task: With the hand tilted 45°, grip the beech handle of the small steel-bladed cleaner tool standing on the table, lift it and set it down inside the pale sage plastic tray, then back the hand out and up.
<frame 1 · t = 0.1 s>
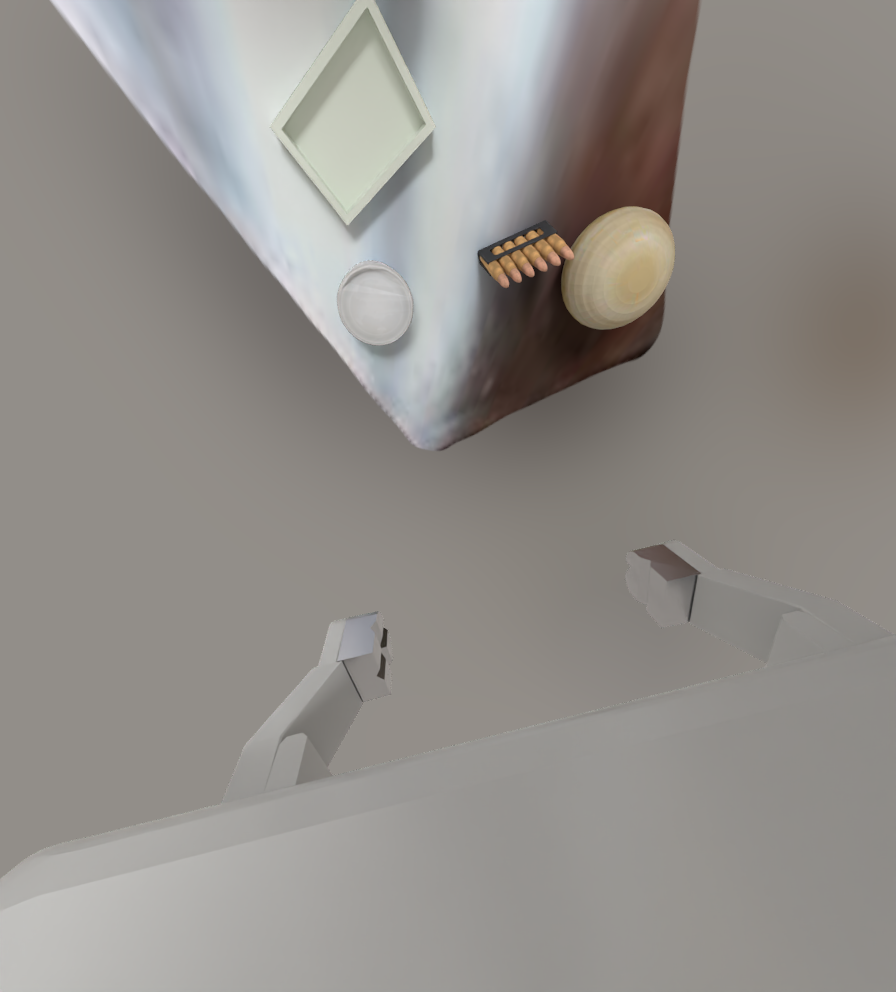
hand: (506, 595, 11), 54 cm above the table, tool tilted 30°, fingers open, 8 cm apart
ramekin: (374, 293, 52), on the table
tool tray: (354, 124, 37), on the table
ammunition clip: (511, 242, 50), on the table
decorative ball: (590, 255, 53), on the table
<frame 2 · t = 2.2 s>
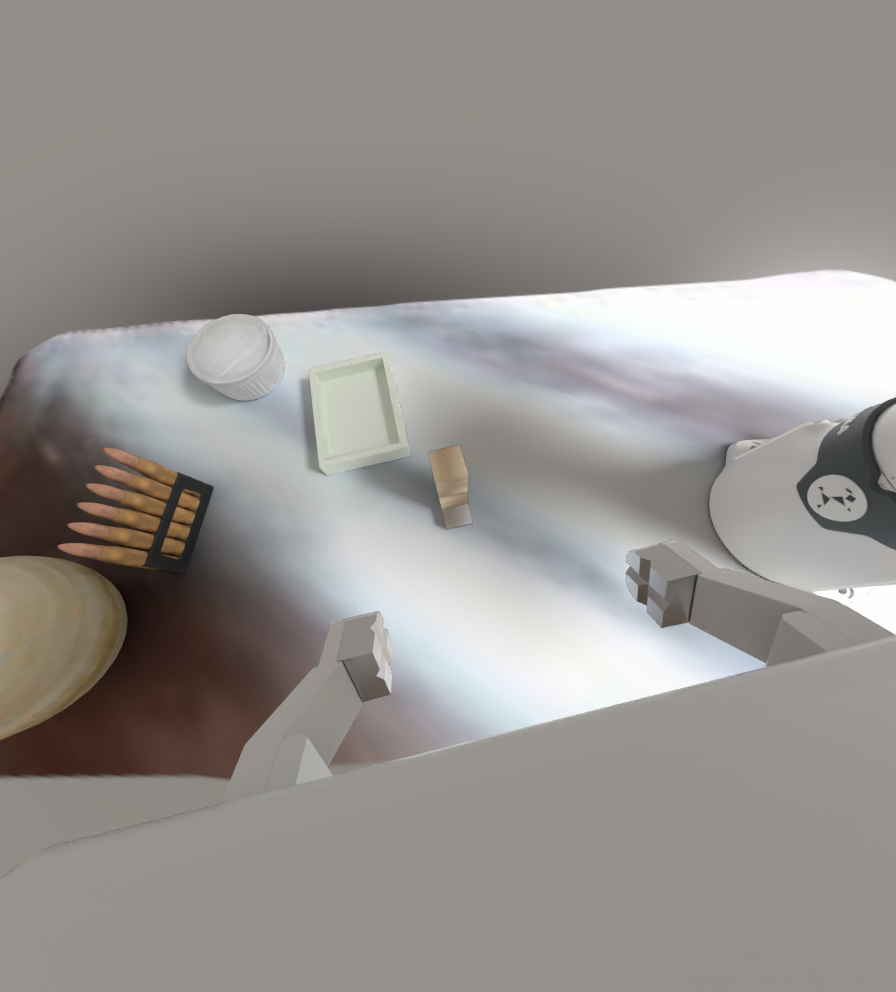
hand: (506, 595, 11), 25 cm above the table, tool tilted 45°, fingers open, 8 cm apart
cleaner tool: (452, 498, 39), on the table
ramekin: (255, 375, 47), on the table
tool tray: (361, 416, 43), on the table
ammunition clip: (194, 528, 39), on the table
decorative ball: (100, 636, 36), on the table
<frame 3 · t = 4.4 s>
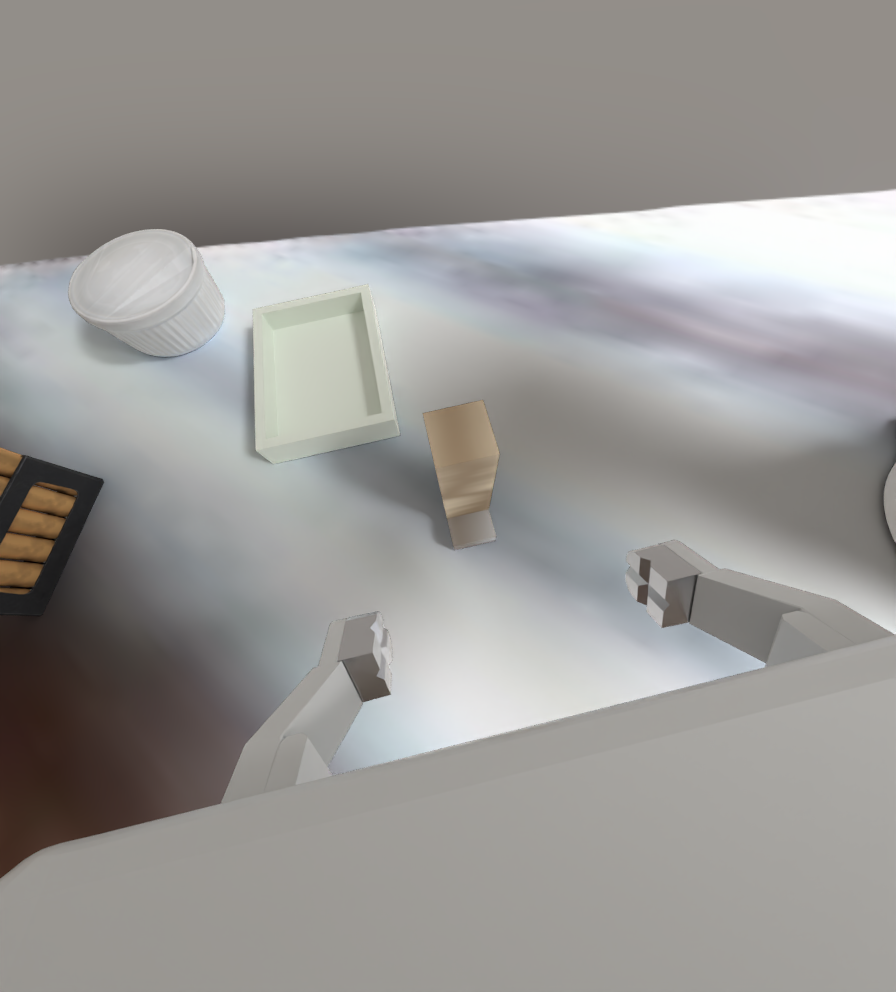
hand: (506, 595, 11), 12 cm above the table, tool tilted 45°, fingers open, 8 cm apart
cleaner tool: (463, 500, 25), on the table
ramekin: (184, 324, 33), on the table
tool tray: (328, 378, 29), on the table
ammunition clip: (68, 543, 26), on the table
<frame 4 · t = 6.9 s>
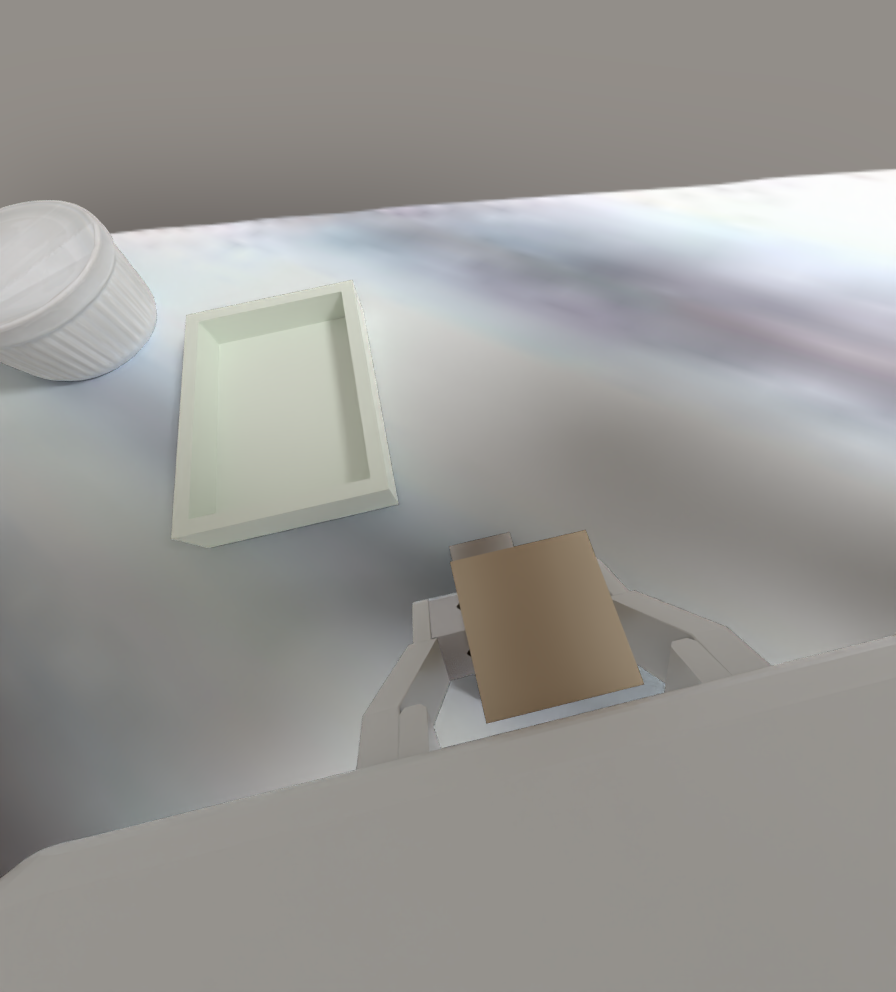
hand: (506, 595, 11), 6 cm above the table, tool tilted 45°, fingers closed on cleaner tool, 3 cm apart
cleaner tool: (496, 614, 16), on the table, touching gripper
ramekin: (101, 335, 24), on the table
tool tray: (295, 415, 20), on the table
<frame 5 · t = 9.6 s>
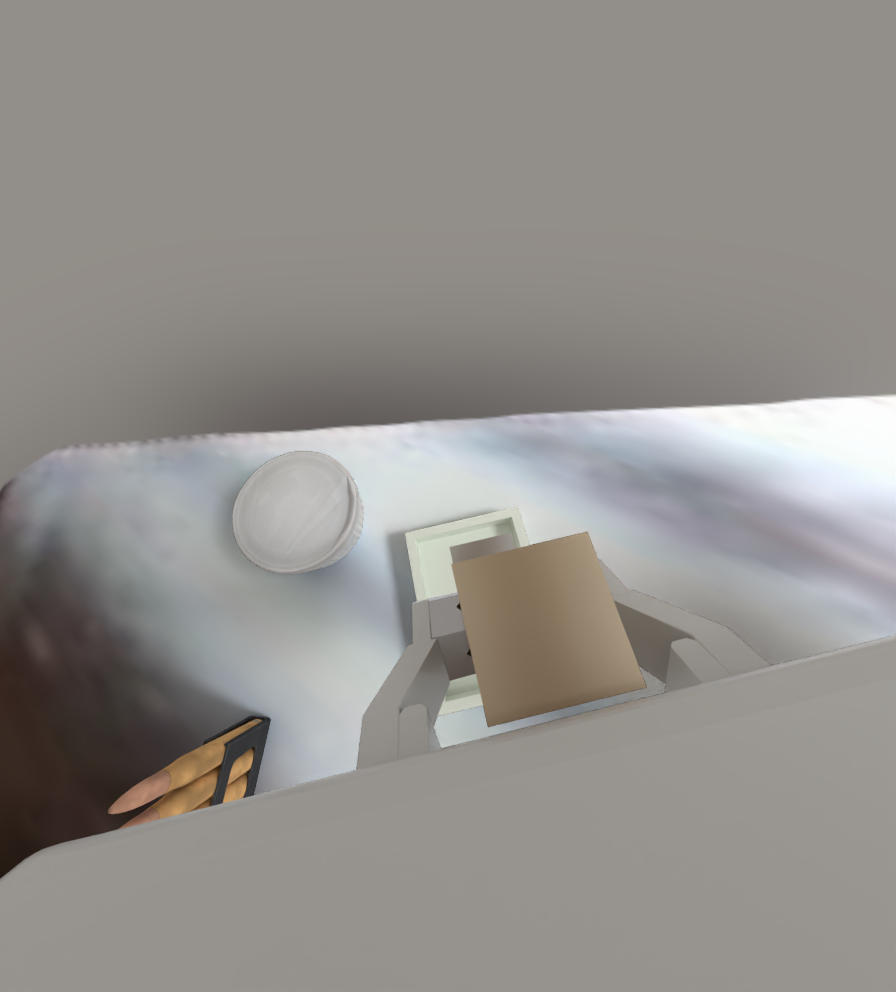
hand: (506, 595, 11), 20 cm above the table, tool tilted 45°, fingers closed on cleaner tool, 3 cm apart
cleaner tool: (496, 615, 16), point 14 cm above the table, touching gripper
ramekin: (320, 523, 33), on the table
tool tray: (480, 602, 30), on the table
ammunition clip: (244, 793, 26), on the table
when the fingers open (7 cm above the table, at t = 12.3 s): cleaner tool stays where it is, resting on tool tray.
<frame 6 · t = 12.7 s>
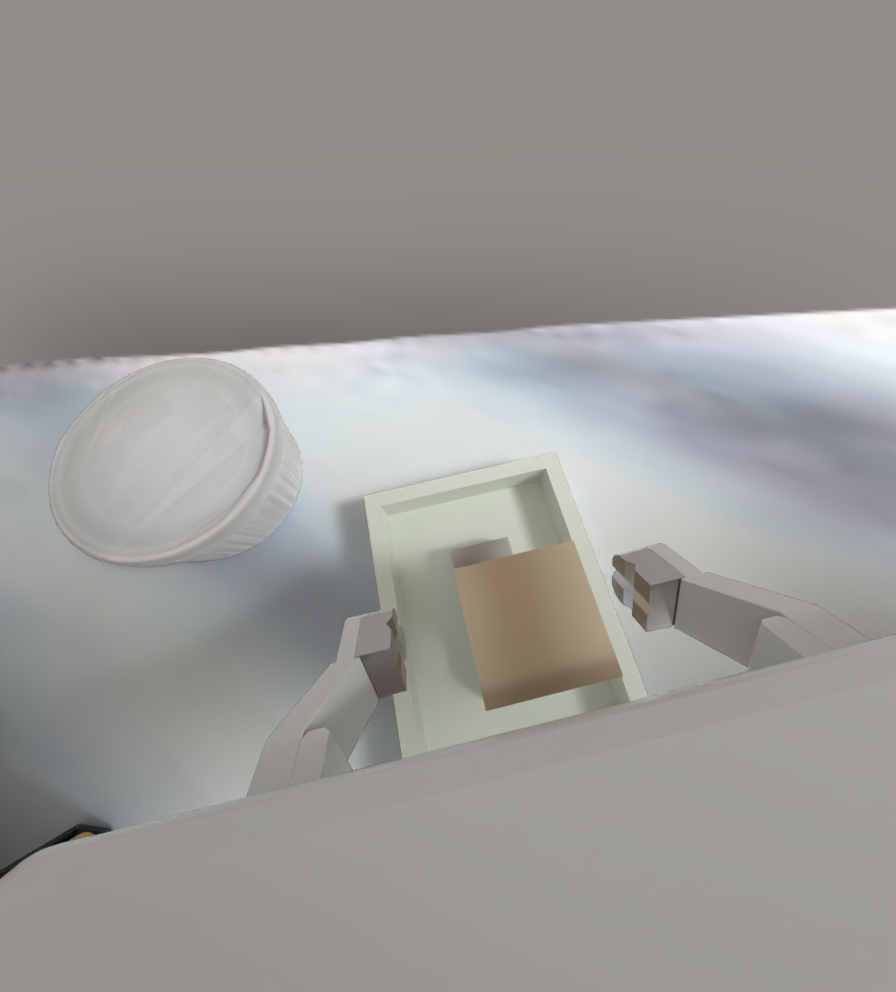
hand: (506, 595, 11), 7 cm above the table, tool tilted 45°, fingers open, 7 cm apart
cleaner tool: (495, 614, 17), point 1 cm above the table, touching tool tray
ramekin: (236, 487, 21), on the table
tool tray: (493, 614, 17), on the table
ammunition clip: (47, 984, 14), on the table
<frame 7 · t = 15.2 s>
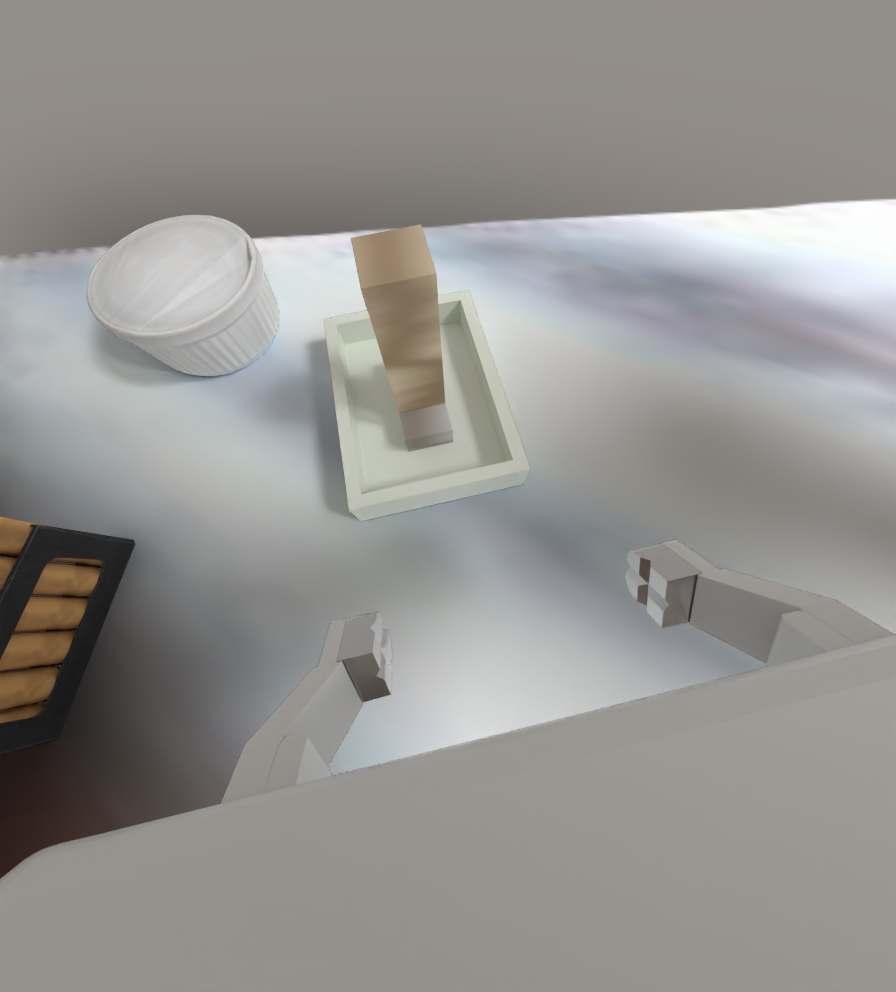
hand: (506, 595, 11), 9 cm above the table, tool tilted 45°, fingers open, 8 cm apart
cleaner tool: (420, 403, 23), point 1 cm above the table, touching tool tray
ramekin: (226, 335, 27), on the table
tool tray: (420, 408, 23), on the table
ammunition clip: (89, 629, 19), on the table
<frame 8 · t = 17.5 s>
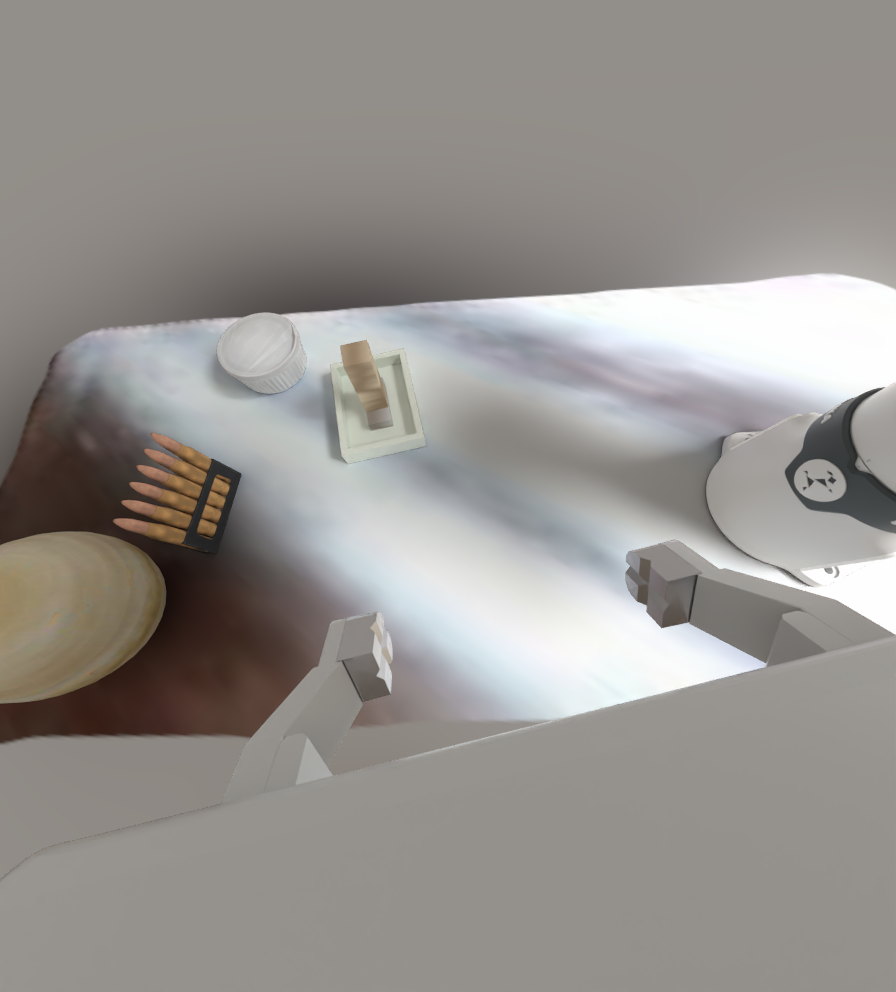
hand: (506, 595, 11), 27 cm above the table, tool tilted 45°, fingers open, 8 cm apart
cleaner tool: (378, 407, 45), point 1 cm above the table, touching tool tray
ramekin: (278, 370, 49), on the table
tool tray: (379, 409, 46), on the table
ammunition clip: (224, 512, 42), on the table
decorative ball: (138, 610, 38), on the table
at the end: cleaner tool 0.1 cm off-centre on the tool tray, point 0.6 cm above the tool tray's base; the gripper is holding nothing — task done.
